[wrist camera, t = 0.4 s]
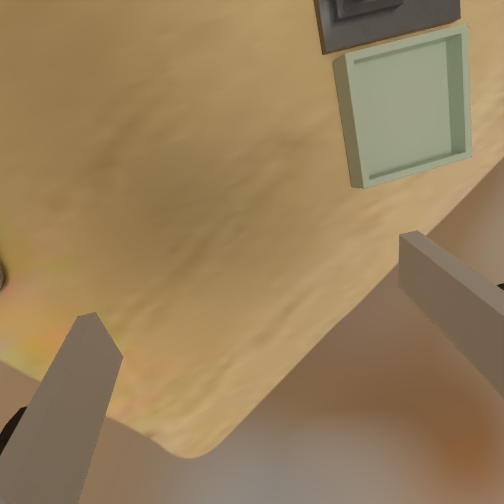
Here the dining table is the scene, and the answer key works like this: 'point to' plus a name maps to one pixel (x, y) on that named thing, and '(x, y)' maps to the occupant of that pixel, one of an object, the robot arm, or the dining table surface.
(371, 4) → the pulley plate
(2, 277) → the ceramic mug
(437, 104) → the tray
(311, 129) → the dining table surface
